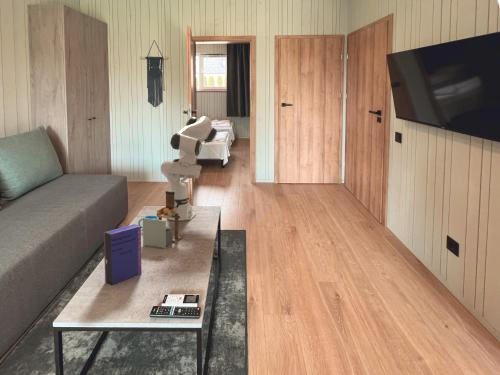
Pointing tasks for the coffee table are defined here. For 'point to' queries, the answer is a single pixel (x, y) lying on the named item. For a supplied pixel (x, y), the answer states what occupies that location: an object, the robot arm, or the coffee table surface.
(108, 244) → the cereal box
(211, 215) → the coffee table surface
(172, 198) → the chute
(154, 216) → the mug
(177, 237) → the stand
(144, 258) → the coffee table surface
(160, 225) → the bin
